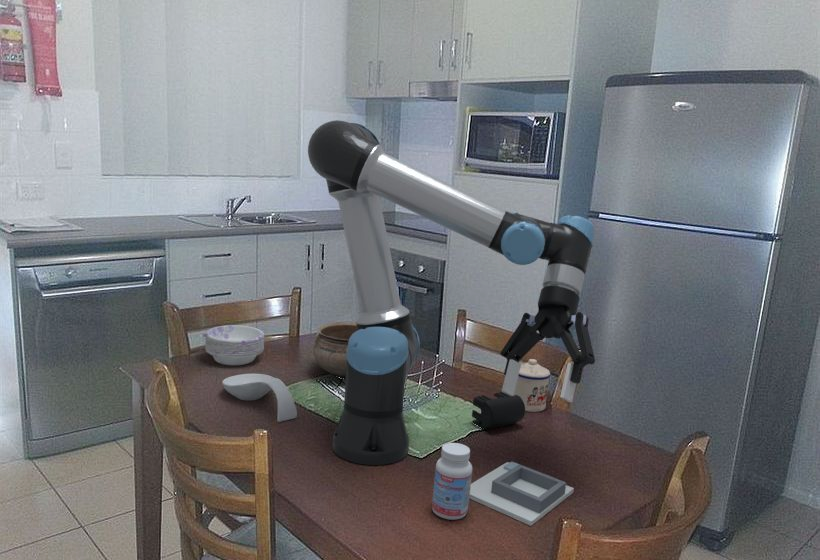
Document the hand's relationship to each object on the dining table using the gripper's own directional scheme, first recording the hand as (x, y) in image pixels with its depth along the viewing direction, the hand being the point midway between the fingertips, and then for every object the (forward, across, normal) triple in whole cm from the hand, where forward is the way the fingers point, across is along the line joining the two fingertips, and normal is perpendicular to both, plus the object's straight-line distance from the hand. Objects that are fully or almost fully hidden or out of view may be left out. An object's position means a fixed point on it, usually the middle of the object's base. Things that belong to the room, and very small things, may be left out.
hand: (535, 396), depth 123 cm
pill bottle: (+24, +3, +11) cm, 27 cm away
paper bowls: (+3, +89, +16) cm, 90 cm away
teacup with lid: (-6, +27, -32) cm, 42 cm away
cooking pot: (-1, +64, -4) cm, 65 cm away
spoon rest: (+14, +59, +20) cm, 64 cm away
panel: (+17, 0, -2) cm, 17 cm away
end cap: (+3, +23, -17) cm, 29 cm away
